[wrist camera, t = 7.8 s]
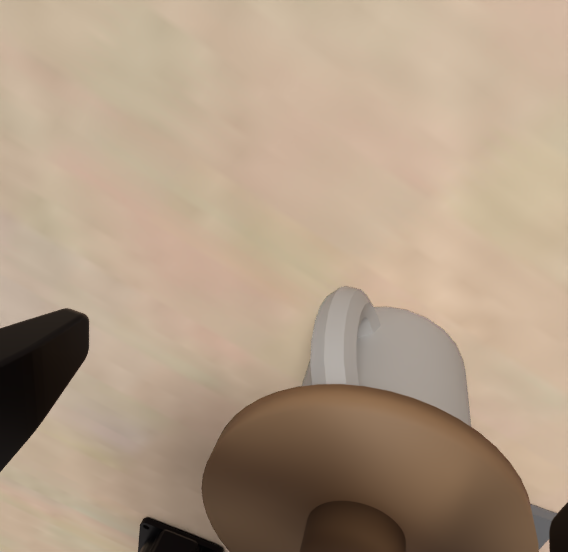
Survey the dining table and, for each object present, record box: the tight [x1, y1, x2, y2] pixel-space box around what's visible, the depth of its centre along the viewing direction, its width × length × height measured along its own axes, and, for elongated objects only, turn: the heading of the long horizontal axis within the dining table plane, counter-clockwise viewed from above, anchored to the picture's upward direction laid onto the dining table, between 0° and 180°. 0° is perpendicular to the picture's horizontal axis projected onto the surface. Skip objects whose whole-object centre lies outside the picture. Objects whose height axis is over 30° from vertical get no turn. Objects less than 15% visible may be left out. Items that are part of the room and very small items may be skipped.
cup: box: [302, 286, 471, 427], centre depth 19 cm, size 7×10×9 cm
